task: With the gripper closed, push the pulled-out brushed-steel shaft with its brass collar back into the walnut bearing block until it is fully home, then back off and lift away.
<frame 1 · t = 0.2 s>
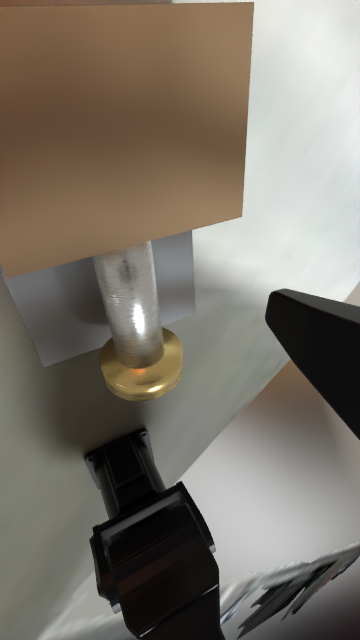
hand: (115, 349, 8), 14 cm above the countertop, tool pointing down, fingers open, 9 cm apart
shaft: (130, 296, 18), point 5 cm above the countertop, slide at 0.0 cm
bearing block: (95, 218, 20), on the countertop
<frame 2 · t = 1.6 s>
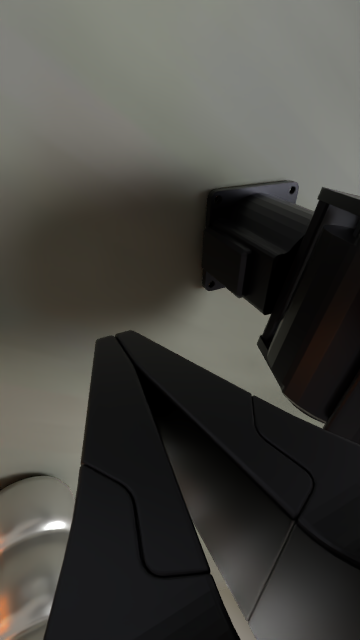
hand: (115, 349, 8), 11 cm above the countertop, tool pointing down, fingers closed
plastic bottle: (26, 489, 26), on the countertop
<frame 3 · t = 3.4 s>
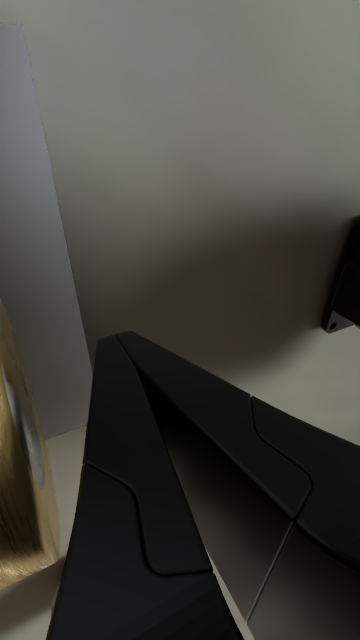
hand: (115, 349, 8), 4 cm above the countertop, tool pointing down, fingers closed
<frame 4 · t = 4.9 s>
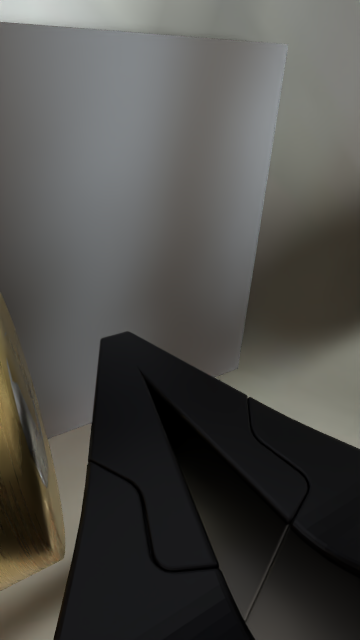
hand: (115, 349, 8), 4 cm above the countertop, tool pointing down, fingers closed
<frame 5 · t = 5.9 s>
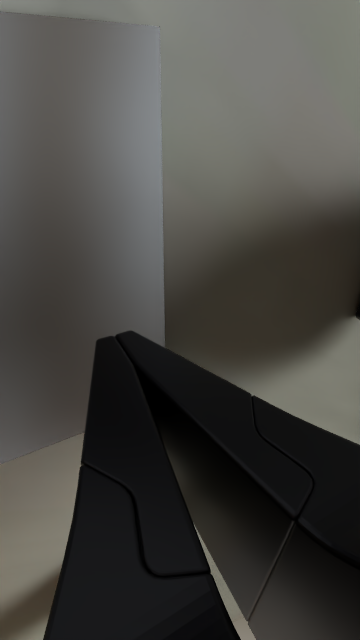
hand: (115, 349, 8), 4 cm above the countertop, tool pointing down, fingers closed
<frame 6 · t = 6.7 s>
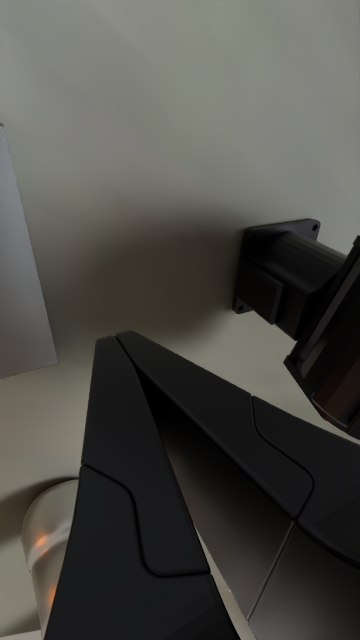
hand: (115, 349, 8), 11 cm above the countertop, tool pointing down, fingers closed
plastic bottle: (61, 492, 28), on the countertop
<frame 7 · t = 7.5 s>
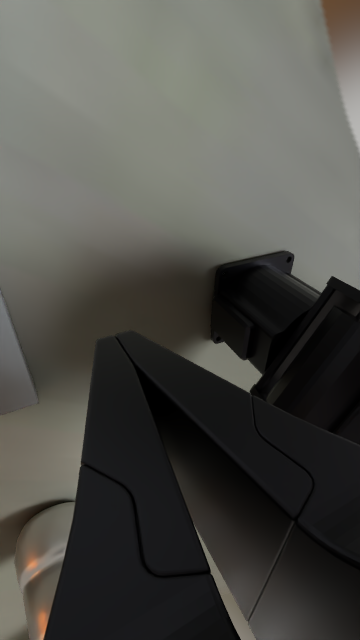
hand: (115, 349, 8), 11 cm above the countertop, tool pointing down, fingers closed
plastic bottle: (53, 513, 29), on the countertop
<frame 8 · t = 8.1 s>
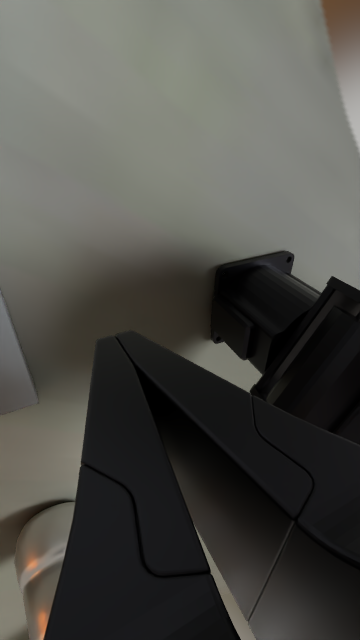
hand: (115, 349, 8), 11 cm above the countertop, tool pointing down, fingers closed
plastic bottle: (53, 513, 29), on the countertop
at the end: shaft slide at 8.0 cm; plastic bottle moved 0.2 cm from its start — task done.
